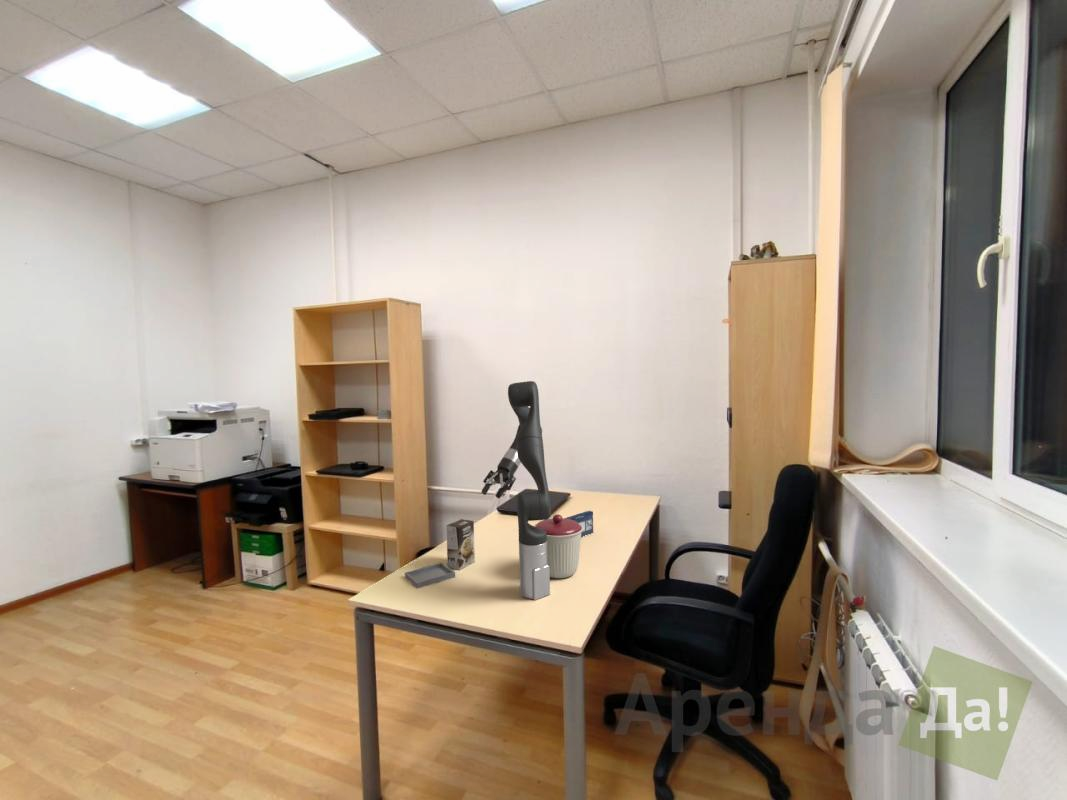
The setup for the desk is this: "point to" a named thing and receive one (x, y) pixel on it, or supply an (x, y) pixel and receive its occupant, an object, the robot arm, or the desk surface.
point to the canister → (562, 545)
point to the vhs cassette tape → (584, 521)
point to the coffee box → (460, 544)
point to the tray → (429, 575)
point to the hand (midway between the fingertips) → (490, 495)
